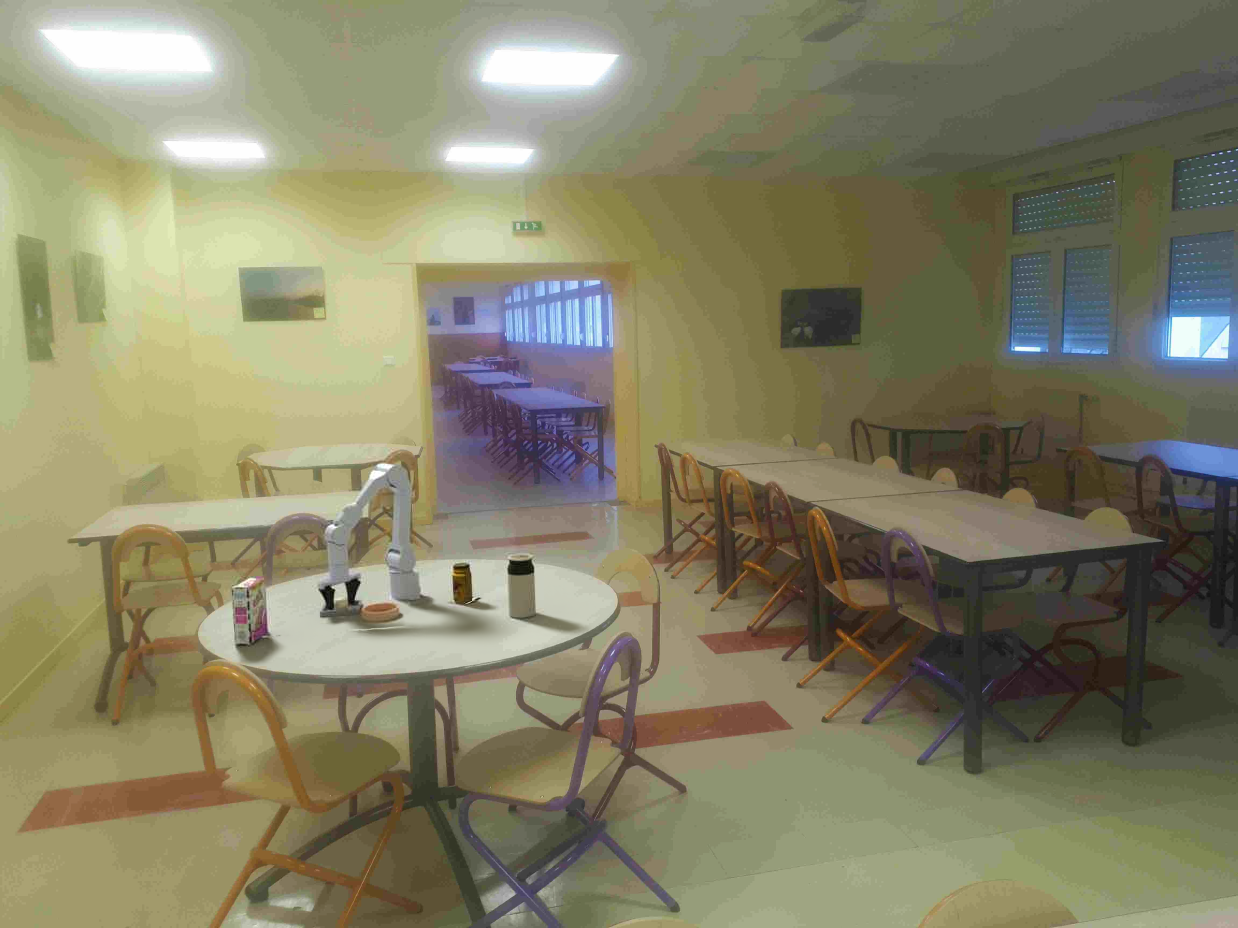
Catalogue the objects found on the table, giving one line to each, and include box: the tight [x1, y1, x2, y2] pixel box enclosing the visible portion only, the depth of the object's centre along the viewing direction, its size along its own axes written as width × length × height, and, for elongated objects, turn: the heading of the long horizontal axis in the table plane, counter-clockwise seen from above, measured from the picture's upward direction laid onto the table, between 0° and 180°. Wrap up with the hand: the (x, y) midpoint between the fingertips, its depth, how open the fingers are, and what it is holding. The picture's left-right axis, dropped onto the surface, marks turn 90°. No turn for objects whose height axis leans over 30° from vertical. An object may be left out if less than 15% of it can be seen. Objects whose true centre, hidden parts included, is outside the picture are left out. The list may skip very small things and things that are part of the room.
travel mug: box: [507, 553, 537, 619], centre depth 266 cm, size 8×8×18 cm
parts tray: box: [319, 599, 363, 618], centre depth 274 cm, size 11×11×2 cm
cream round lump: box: [334, 596, 348, 611], centre depth 274 cm, size 4×4×4 cm
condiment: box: [448, 562, 474, 604], centre depth 283 cm, size 7×8×12 cm
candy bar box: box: [231, 577, 269, 646], centre depth 249 cm, size 11×5×16 cm, turn 178°
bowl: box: [360, 602, 401, 622], centre depth 268 cm, size 11×11×3 cm
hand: (341, 606), depth 274 cm, fingers open, 7 cm apart
